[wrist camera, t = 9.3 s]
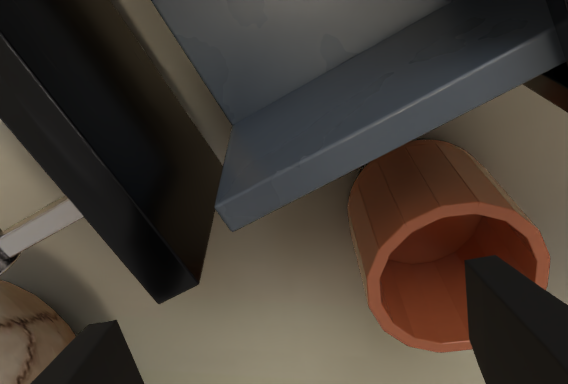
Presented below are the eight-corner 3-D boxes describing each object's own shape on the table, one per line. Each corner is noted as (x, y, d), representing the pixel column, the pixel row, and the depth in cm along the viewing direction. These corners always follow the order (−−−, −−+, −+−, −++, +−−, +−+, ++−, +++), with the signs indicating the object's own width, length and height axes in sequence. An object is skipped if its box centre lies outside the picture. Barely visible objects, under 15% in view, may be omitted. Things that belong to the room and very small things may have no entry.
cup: (508, 227, 21) (572, 309, 16) (383, 284, 22) (411, 375, 17) (457, 112, 19) (515, 169, 14) (322, 182, 20) (335, 255, 15)
